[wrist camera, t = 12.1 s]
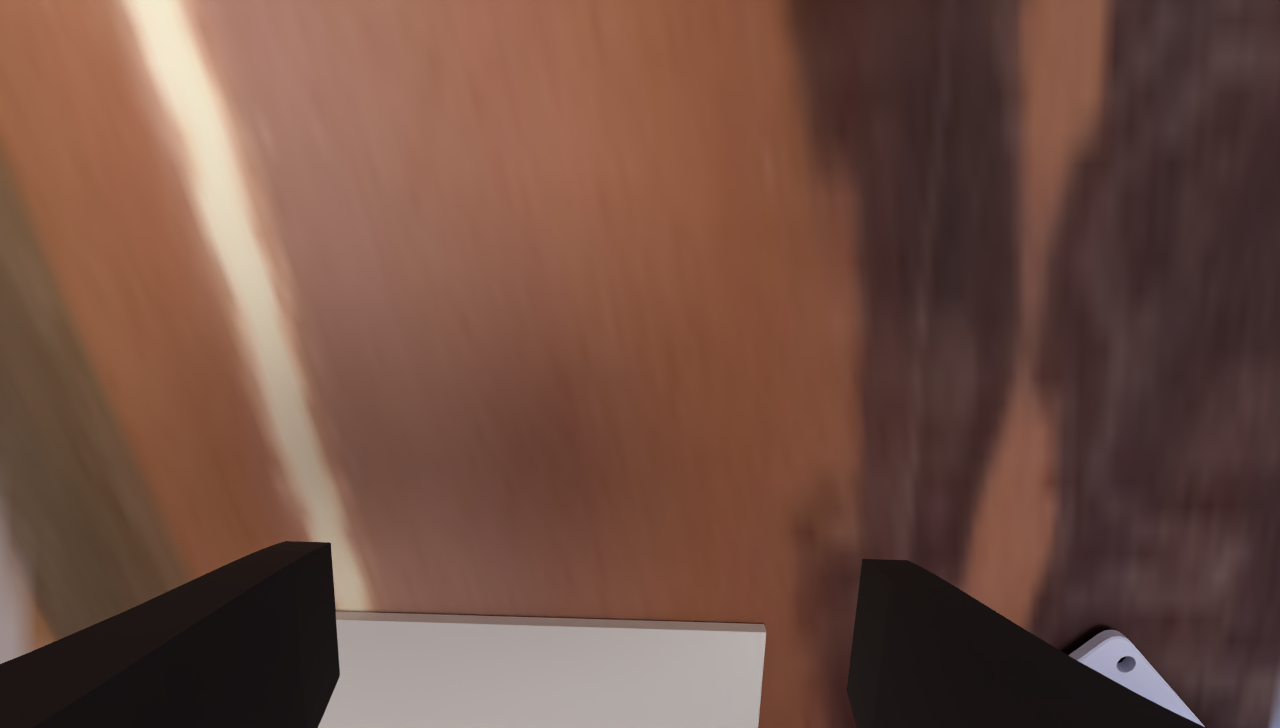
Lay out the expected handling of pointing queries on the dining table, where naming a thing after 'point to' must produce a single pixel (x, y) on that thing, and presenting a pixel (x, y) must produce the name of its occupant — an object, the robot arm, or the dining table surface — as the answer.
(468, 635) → the mat
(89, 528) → the dining table surface
